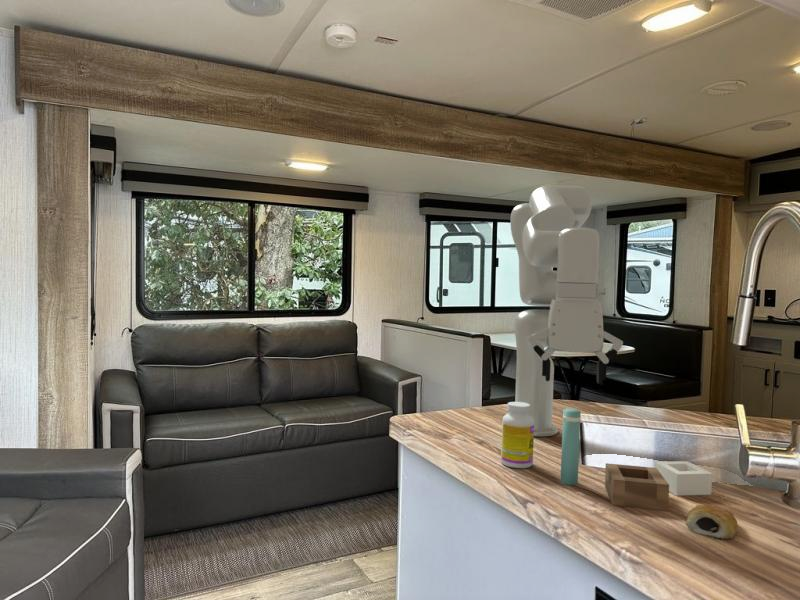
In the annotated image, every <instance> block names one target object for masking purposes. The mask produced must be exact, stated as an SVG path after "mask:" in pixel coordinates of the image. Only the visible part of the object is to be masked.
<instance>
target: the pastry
mask: <svg viewBox="0 0 800 600" xmlns="http://www.w3.org/2000/svg"><path fill="white" fill-rule="evenodd" d="M685 525H686V527H687V529H688V530H689V531H691V532H693V533H696V534H699V535H702V534H703V535H702V536H707V535H708V536H709V537H712V538H715V537H716V539H719V538H721V539H720V540H730V539H733V538H735V536H736V534H737V533H738V532H737V531H738V528H739V527H738V526H739V524H738V521H737V518H736V517H735V516H734V514H733V513H732V512H731V511H730V510H728V509H725V508H722V507H720V506H719V505H716V504H702V505H701V504H697V505H696V506H694V507H693V508H691V509H690V510H689V512H688V515H687V519H686V520H685ZM729 538H730V539H729Z"/></svg>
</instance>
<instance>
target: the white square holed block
mask: <svg viewBox="0 0 800 600" xmlns="http://www.w3.org/2000/svg"><path fill="white" fill-rule="evenodd" d="M654 468H657V469H658V471H659V472H660V473H661V475H662V476H663V477H664V479H665V480H666V481H667V483H668V484H669V493H672V494H673V495H675V496H676V497H677V496H678V497H679V496H682V497H683V496H711V495H712V488H713V487H712V483H713V473H712V472H710V471H708V470H706V469H704V468H702V467H700V466H698V465H697V464H693V463H692V462H690V461H689V460H685V461H684V460H683V461H682V460H681V461H680V460H679V461H678V460H677V461H672V460H671V461H654Z"/></svg>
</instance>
